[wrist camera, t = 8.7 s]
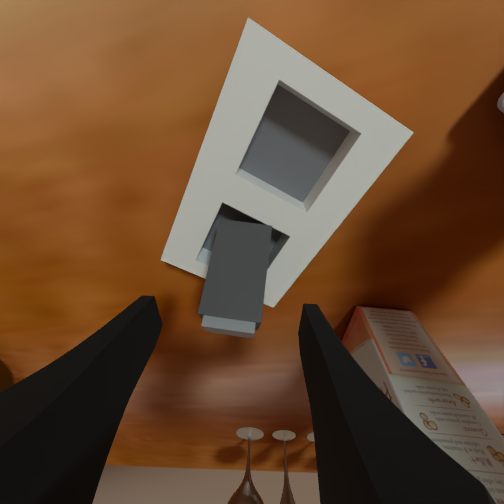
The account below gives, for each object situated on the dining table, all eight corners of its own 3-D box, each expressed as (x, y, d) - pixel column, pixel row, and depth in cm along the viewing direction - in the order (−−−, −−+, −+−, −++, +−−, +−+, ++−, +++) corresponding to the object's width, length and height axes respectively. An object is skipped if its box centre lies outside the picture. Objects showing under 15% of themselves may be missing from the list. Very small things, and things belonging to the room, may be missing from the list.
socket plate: (391, 129, 14) (413, 132, 12) (272, 288, 22) (273, 307, 19) (251, 34, 12) (248, 17, 10) (171, 244, 20) (160, 259, 18)
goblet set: (411, 432, 35) (480, 584, 24) (399, 447, 38) (456, 589, 27) (231, 424, 37) (216, 561, 26) (234, 439, 40) (221, 568, 29)
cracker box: (350, 302, 22) (710, 1104, 4) (413, 307, 22) (1049, 1147, 4) (318, 382, 29) (400, 799, 11) (365, 386, 29) (520, 812, 11)
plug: (272, 225, 15) (260, 334, 12) (267, 249, 19) (256, 339, 16) (219, 218, 16) (194, 324, 12) (223, 243, 19) (204, 331, 16)
